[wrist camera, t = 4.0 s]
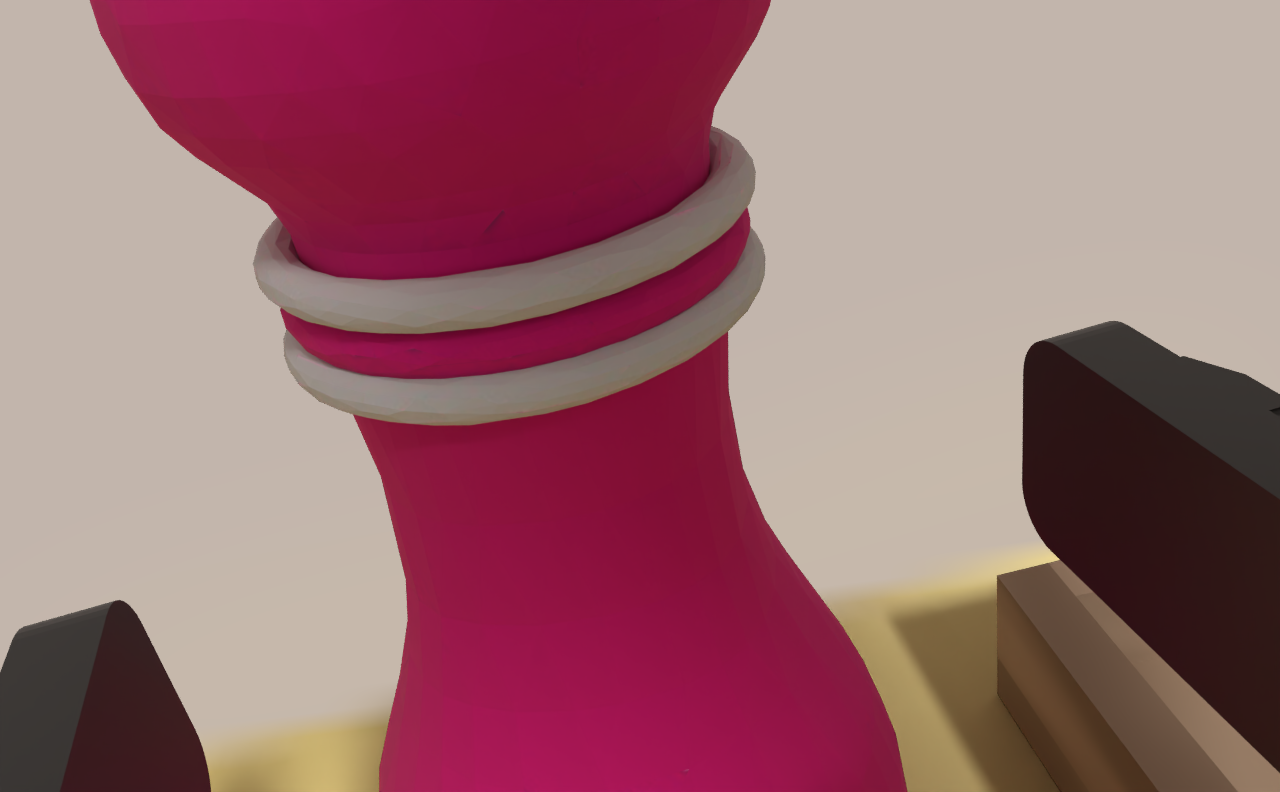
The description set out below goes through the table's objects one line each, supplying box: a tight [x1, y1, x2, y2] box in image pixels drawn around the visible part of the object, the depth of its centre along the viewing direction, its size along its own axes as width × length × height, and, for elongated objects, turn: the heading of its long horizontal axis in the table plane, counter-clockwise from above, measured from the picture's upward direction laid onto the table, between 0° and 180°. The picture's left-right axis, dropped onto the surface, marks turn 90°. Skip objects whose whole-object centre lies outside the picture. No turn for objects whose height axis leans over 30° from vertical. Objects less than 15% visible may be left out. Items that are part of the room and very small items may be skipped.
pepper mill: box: [90, 0, 907, 792], centre depth 13 cm, size 7×7×20 cm
